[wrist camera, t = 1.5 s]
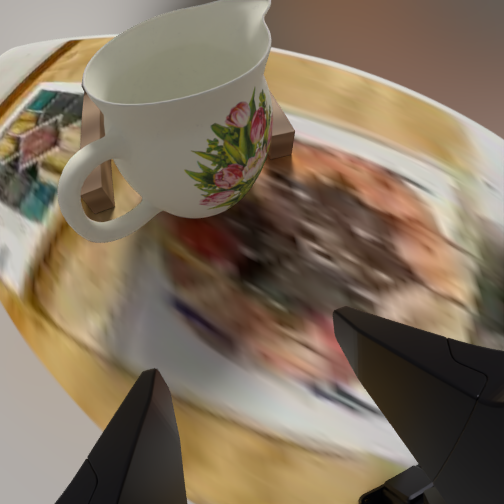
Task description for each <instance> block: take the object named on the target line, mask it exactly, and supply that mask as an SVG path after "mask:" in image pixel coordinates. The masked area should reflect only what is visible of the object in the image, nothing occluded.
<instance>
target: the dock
mask: <svg viewBox="0 0 504 504" xmlns="http://www.w3.org/2000/svg"><path fill="white" fill-rule="evenodd" d="M82 88H83V90H84V101H83V112H82V125H81V143H80V150H81V149H82V148H83V147H85V146H86V145H88V144H90V143H92V142H94V141H96V140H99V139H101V138H103V137H104V136H105V128H104V114H103V113H102V112H101V110H100V109H99V108H98V107H97V105H96V104H95V103H94V102H93V101H92V100H91V99H90V97H89V96H88V95H87V93H86V91H85V89H84V87H83V81H82ZM269 92H270V90H269ZM270 96H271V102H272V108H273V127H272V137H271V142H270V147H269V151H268V156H269V158H270V159H274V158H278V157H282V156H287V155H291V154H292V148H293V141H294V135H295V130H294V129H293V127H292V125H291V124H290V122H289V120H288V119H287V117H286V115H285V114H284V112H283V111H282V109H281V107H280V106H279V104H278V103H277V101H276V100H275V98H274V96H273V95H272V93H271V92H270ZM81 198H82V199H83V200H84V201H85V203H86V204H87V205H88V206H89V207H90V209H91V210H92V211H93V212H94V214H96V213H99V212H101V211H104V210H107V209H109V208H112V207H115V202H114V193H113V182H112V170H111V159H110V160H107V161H105V162H103V163H102V164H100V165H98V166H97V167H96V168H95V169H93V171H92V172H91V173H90V174H89V175H88V176H87V178H86V179H85V181H84V183H83V186H82V188H81Z"/></svg>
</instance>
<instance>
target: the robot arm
mask: <svg viewBox="0 0 504 504" xmlns="http://www.w3.org/2000/svg"><path fill="white" fill-rule="evenodd" d="M333 323H334V333H335V337H336V339H337V341H338V343H339V345H340V347H341V349H342V350H343V352H344V354H345V356H346V358H347V360H348V361H349V363H350V365H351V367H352V369H353V371H354V372H355V374H356V376H357V378H358V379H359V381H360V382H361V384H362V385H363V387H364V388H365V389H366V391H367V392H368V394H369V395H370V396H371V398H372V399H373V400H374V402H375V403H376V405H377V406H378V407H379V409H380V410H381V412H382V413H383V414H384V416H385V417H386V419H387V420H388V421H389V423H390V424H391V426H392V427H393V428H394V430H395V431H396V432H397V434H398V435H399V437H400V438H401V439H402V441H403V442H404V444H405V445H406V447H407V448H408V449H409V451H410V452H411V454H412V455H413V456H414V458H415V459H416V461H417V462H418V463H419V464H418V465H417V466H412V467H410V468H409V469H407V470H405V471H404V472H402V473H400V474H398V475H396V476H395V477H393V478H391V479H389V480H387V481H386V482H385V483H384V484H383V485H381V486H379V487H377V488H375V489H373V490H371V491H369V492H367V493H365V494H363V495H362V496H361V497H360V499H359V502H360V504H504V351H501V350H495V349H490V348H486V347H481V346H476V345H472V344H468V343H465V342H461V341H458V340H454V339H451V338H446V337H444V336H441V335H437V334H434V333H431V332H427V331H424V330H421V329H418V328H414V327H411V326H408V325H405V324H401V323H398V322H395V321H392V320H389V319H386V318H382V317H379V316H376V315H373V314H370V313H367V312H363V311H360V310H357V309H354V308H351V307H348V306H344V307H341V308H339V309H336V310H334V312H333ZM368 497H369V499H368V500H367V501H364V500H365V499H366V498H368ZM55 504H187V498H186V490H185V482H184V474H183V465H182V455H181V445H180V437H179V432H178V428H177V423H176V418H175V413H174V408H173V403H172V398H171V393H170V390H169V388H168V386H167V384H166V383H165V381H164V379H163V377H162V376H161V374H160V372H159V371H158V370H157V369H155V368H154V369H150V370H146V371H143V372H142V373H141V375H140V376H139V378H138V379H137V381H136V382H135V384H134V385H133V387H132V388H131V390H130V392H129V393H128V395H127V396H126V398H125V399H124V401H123V402H122V404H121V405H120V407H119V408H118V410H117V411H116V413H115V414H114V416H113V418H112V419H111V421H110V422H109V424H108V425H107V427H106V428H105V430H104V432H103V433H102V435H101V436H100V438H99V439H98V441H97V443H96V444H95V446H94V447H93V449H92V450H91V452H90V454H89V455H88V459H86V460H85V461H84V463H83V464H82V466H81V468H80V469H79V471H78V472H77V474H76V475H75V477H74V478H73V480H72V481H71V483H70V484H69V485H68V487H67V488H66V490H65V491H64V492H63V493H62V495H61V496H60V498H59V499H58V500H57V501H56V503H55Z"/></svg>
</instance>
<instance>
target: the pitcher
mask: <svg viewBox="0 0 504 504" xmlns="http://www.w3.org/2000/svg"><path fill="white" fill-rule="evenodd" d="M270 6H271V0H219V1H215V2H212V3H208V4H204V5H199V6H194V7H189V8H184V9H180V10H175V11H172V12H168V13H165V14H162V15H159V16H156V17H153V18H151V19H148V20H146V21H144V22H142V23H140V24H137V25H135V26H133V27H131V28H130V29H128V30H126V31H124V32H123V33H121V34H119V35H118V36H116V37H115V38H113V39H112V40H111V41H109V42H108V43H107V44H105V45H104V46H103V47H102V48H101V49H100V50H99V51H98V52H97V53H96V54H95V55H94V56H93V57H92V59H91V60H90V61H89V63H88V65H87V66H86V68H85V71H84V73H83V79H82V81H83V87H84V89H85V91H86V93H87V95H88V96H89V97H90V99H91V100H92V101H93V102H94V103H95V104H96V105H97V107H98V108H99V109H100V110H101V112H102V113H103V114H104V128H105V136H104V137H103V138H101V139H99V140H96V141H94V142H92V143H90V144H88V145H86V146H85V147H83V148H82V149H81V150H79V151H78V152H77V153H76V154H75V155H74V156H73V157H72V158H71V159H70V160H69V162H68V163H67V165H66V166H65V168H64V170H63V172H62V175H61V177H60V180H59V186H58V203H59V206H60V209H61V212H62V214H63V216H64V217H65V219H66V221H67V222H68V224H69V225H70V226H71V227H72V228H73V229H74V230H75V231H76V232H77V233H78V234H79V235H80V236H82V237H83V238H85V239H87V240H89V241H92V242H95V243H105V242H111V241H115V240H118V239H121V238H123V237H126V236H128V235H130V234H132V233H133V232H135V231H136V230H138V229H139V228H141V227H142V226H143V225H145V224H146V223H147V222H148V221H150V220H151V219H152V218H153V217H154V216H155V215H156V214H158V213H160V212H162V211H166V212H168V213H170V214H173V215H176V216H179V217H185V218H205V217H210V216H213V215H217V214H219V213H221V212H224V211H226V210H227V209H229V208H231V207H232V206H233V205H235V204H236V203H237V202H239V201H240V200H241V199H242V198H243V197H244V196H245V195H246V193H247V192H248V191H249V190H250V188H251V187H252V186H253V184H254V183H255V181H256V179H257V178H258V176H259V174H260V172H261V170H262V168H263V165H264V163H265V161H266V158H267V154H268V151H269V147H270V142H271V137H272V127H273V108H272V102H271V96H270V92H269V88H268V85H267V82H266V80H265V77H264V75H263V74H264V70H265V66H266V62H267V59H268V56H269V53H270V48H271V35H270V31H269V29H268V27H267V25H266V23H265V21H264V17H265V15H266V13H267V11H268V10H269V8H270ZM110 159H113V160H114V162H115V164H116V166H117V167H118V169H119V171H120V172H121V174H122V175H123V177H124V178H125V179H126V181H127V182H128V183H129V184H130V186H131V187H132V188H133V189H134V190H135V191H136V192H138V193H139V194H140V195H141V196H142V198H143V199H142V202H141V203H139V204H138V205H137V206H136V207H135V208H134V209H132V210H131V211H130V212H128V213H126V214H125V215H123V216H121V217H119V218H116V219H113V220H110V221H107V222H96V221H93V220H91V219H89V218H88V217H87V216H86V215H85V212H84V210H83V208H82V204H81V188H82V186H83V183H84V181H85V179H86V178H87V176H88V175H89V174H90V173H91V172H92V171H93V169H95V168H96V167H97V166H98V165H100V164H102V163H103V162H105V161H107V160H110Z"/></svg>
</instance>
